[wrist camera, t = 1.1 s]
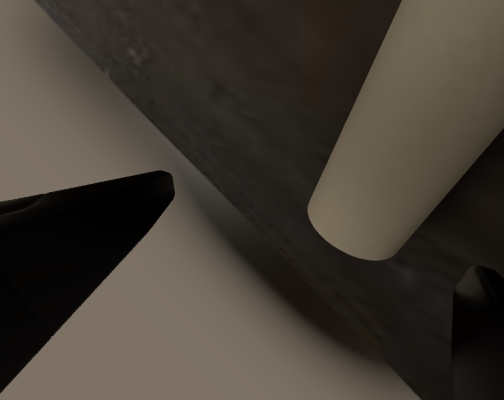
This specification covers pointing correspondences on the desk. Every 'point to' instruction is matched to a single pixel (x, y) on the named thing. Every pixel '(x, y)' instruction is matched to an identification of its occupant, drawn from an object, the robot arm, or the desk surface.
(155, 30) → the desk surface
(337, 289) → the desk surface
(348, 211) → the paper towel roll
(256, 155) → the desk surface
